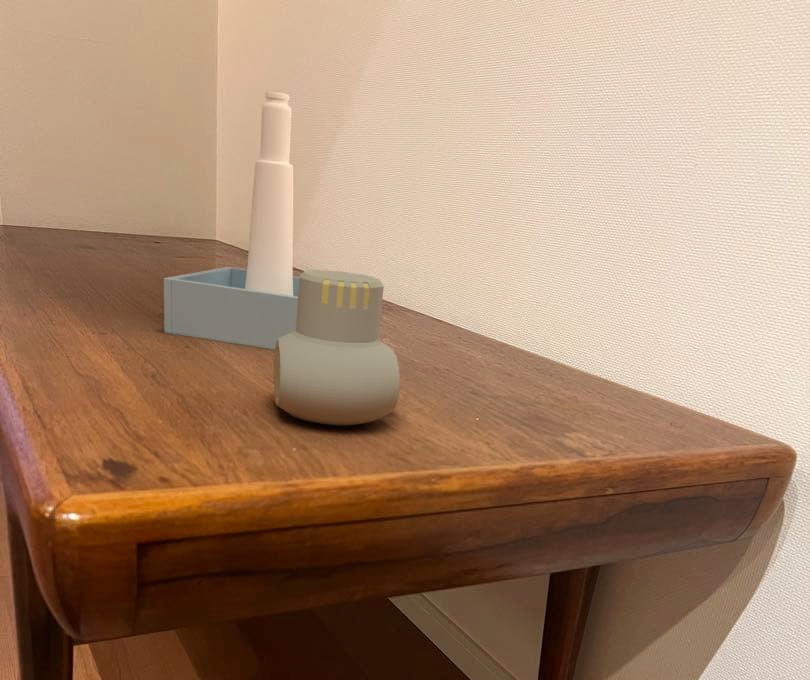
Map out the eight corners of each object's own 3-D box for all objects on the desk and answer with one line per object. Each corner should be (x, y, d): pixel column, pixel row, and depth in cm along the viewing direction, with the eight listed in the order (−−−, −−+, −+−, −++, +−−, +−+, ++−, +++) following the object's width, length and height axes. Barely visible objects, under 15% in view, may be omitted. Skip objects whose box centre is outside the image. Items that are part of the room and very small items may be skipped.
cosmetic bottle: (251, 337, 78) (260, 86, 69) (229, 325, 83) (234, 88, 74) (306, 337, 81) (321, 98, 72) (282, 326, 86) (293, 99, 77)
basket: (164, 337, 76) (163, 278, 74) (226, 317, 90) (227, 266, 88) (317, 361, 74) (321, 301, 72) (356, 337, 88) (361, 285, 86)
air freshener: (399, 441, 54) (417, 293, 50) (279, 436, 52) (287, 280, 48) (373, 399, 64) (386, 272, 60) (271, 393, 62) (277, 261, 58)
